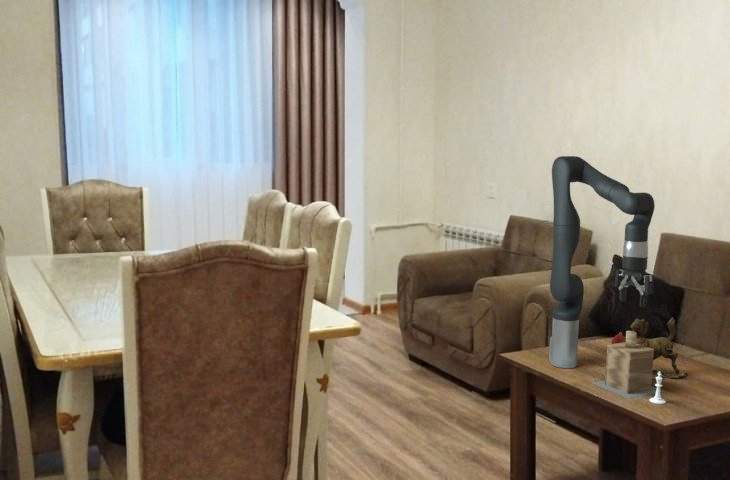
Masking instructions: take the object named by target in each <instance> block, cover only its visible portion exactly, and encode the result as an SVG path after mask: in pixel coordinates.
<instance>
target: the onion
mask: <svg viewBox="0 0 730 480" xmlns="http://www.w3.org/2000/svg"><path fill="white" fill-rule="evenodd" d="M623 342H626V336H624V334H623V333H622V332H621V331H620V332H619V333H617V334H615V335H614V337H613V338H612V340H611V344H616V343H623Z"/></svg>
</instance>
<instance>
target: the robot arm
mask: <svg viewBox="0 0 730 480" xmlns="http://www.w3.org/2000/svg"><path fill="white" fill-rule="evenodd" d="M551 167H552V168H551V180H552V181H551V183H552V195H553V223H552V224H553V225H552V229H553V230H552V232H553V233H552V234H553V235H552V236H553V237H552V238H553V239H552V240H553V243H552V263H551V264H552V265H551V273H550V280H549V290H550V294H551V296H552V298H553V299H554V300H555V301H557V302H558V305H557V306H556V307H555V308H554V309H553V311H552V328H551V336H550V337H549V349H548V351H549V352H548V363H550V365H551V366H553V367H556V368H561V369H572V368H576V367H577V366H578V365H577V364H578V348H579V345H578V344H579V332H580V331H579V329H580V328H579V327H580V316H581V313H582V310H583V302H584V292H585V288H584V287H585V286H584V282H583V280H582V278H581V277H580V276H579V275H577V274H576V273H571V269H572V260H573V258H574V255H575V253H576V250H577V248H578V246H579V242H580V239H581V219H580V216H579V212H578V210H577V209H576V207H575V204H574V203H573V200H572V196H571V183H582V184H585V185H588V186H590V187H591V188H592V189H593V190H594V192H595V193H596V194H597V196H599V197H600V198H603V199H604V200H606V201H608V202H609V203H611V204H614V205H615V206H616V208H618V210H620V211H621V212H622V213H625V214H627V215H631V216H633V218H632V220H631V221H629V222H627V223H626V224H625V226H624V241H623V242H624V243H623V248H622V249H623V250H622V264H621V265H622V266H621V267H622V269H621V268H620V269H616V270H615V276H614V277H615V278H614V280H615V281H614V288H617V289H618V290H619V291H618V293H619V295H618V299H619V302H621V303H622V302H624V303H625V302H626V301H627V293H628V290H627V289H628V287H629V286H632V287H635V288H636V290H638V292H639V293H640V295H639V307H641V308H644V307H645V308H646V307H647V305H648V296H649V295H653V294H654V281H655V279H654V275H652V274H651V275H648V274H647V275H646V271H647V269H648V259H649V258H648V256H649V255H648V253H649V244H648V243H649V227H650V225H651V222H652V218H653V216H654V211H655V206H656V205H655V200H654V197H653V195H651V194H650V193H648V192H631V191H630V188H629V187H628V186H627V185H625V184H624V183H622V182H620V181H618V180H616V179H613V178H611V177H610V176H607V175H606V174H604V173H602V172H601V171H599V170H598V169H597V168H595V167H594V166H593V165H591V164H590V163H589V162H588V161H586V160H585V159H583V158H582V157H580V156H576V155H566V156H565V155H564V156H562V155H561V156H557V158H555V159H554V160H553V162H552V166H551Z"/></svg>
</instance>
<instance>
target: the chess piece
mask: <svg viewBox="0 0 730 480" xmlns="http://www.w3.org/2000/svg"><path fill="white" fill-rule="evenodd" d="M660 373H661V372H660V371H659V373H658V377H656V383H654V387H656V388H657V389H656V393H654V394H655V395H654V396H653V397H650V398H649V400H648V401H649V402H650V403H653V404H656V405H664V404H666V403H667V402H666V399H664V398H662V395H661V394H662V393H661V392H660V390H661V387H663V384H662V381H663V379H664V378H662V377H660V376H661V374H660Z"/></svg>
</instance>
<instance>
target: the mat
mask: <svg viewBox="0 0 730 480" xmlns="http://www.w3.org/2000/svg"><path fill="white" fill-rule="evenodd" d="M592 384H593V385H596V386H597V387H600V388H603V389H606V390H608V391H610V392H612V393H615V394H618V395H620V396H622V397H624V398H626V399H627V398H628V399H631V398H637V397H642V396H646V395H653V394H656V389H657V387H656V386H651V390H647V391H641V392H636V393H630V394H627V393H625V392H622V391H620V390H617V389H615V388H612V387H610V386H608V385H605V380H603V381H597V382H592ZM663 392H665V390H663V389H660V393H663Z"/></svg>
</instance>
